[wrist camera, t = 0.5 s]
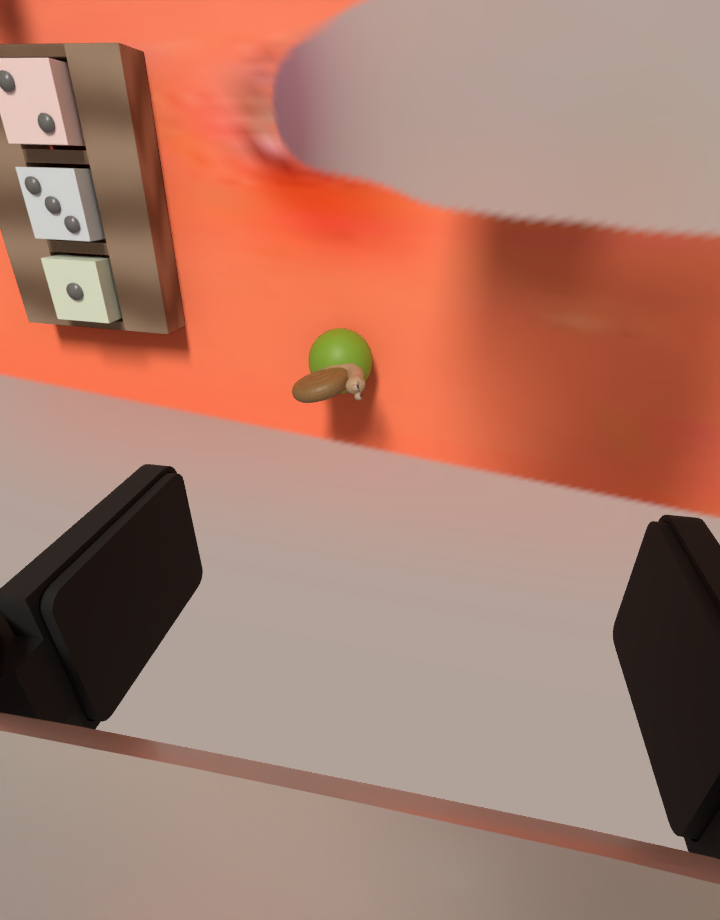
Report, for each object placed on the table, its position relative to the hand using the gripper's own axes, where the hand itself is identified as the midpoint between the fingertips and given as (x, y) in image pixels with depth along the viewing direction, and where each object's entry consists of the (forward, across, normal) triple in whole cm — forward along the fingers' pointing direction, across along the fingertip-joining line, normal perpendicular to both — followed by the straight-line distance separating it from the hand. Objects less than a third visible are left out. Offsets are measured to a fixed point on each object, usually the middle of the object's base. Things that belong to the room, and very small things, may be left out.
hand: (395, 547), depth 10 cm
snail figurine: (+35, +8, +7) cm, 36 cm away
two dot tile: (+32, +31, -12) cm, 46 cm away
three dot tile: (+33, +31, -5) cm, 45 cm away
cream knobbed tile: (+33, +31, +1) cm, 45 cm away
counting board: (+34, +31, -5) cm, 47 cm away
